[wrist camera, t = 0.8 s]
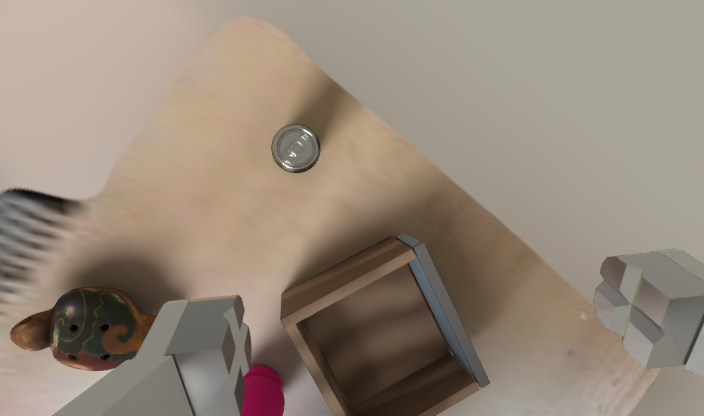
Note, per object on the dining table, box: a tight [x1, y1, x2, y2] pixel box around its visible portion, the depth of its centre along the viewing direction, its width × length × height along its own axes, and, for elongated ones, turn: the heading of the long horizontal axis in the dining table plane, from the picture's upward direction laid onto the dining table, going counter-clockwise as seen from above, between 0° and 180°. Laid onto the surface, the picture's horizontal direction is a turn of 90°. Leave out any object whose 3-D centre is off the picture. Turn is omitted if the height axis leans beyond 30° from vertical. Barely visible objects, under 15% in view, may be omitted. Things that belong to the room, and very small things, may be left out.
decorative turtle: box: [10, 287, 157, 371], centre depth 46 cm, size 10×15×8 cm, turn 88°
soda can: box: [271, 124, 320, 173], centre depth 46 cm, size 5×5×12 cm
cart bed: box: [280, 236, 479, 416], centre depth 51 cm, size 20×17×10 cm
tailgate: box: [396, 232, 490, 388], centre depth 51 cm, size 20×1×8 cm, turn 27°
